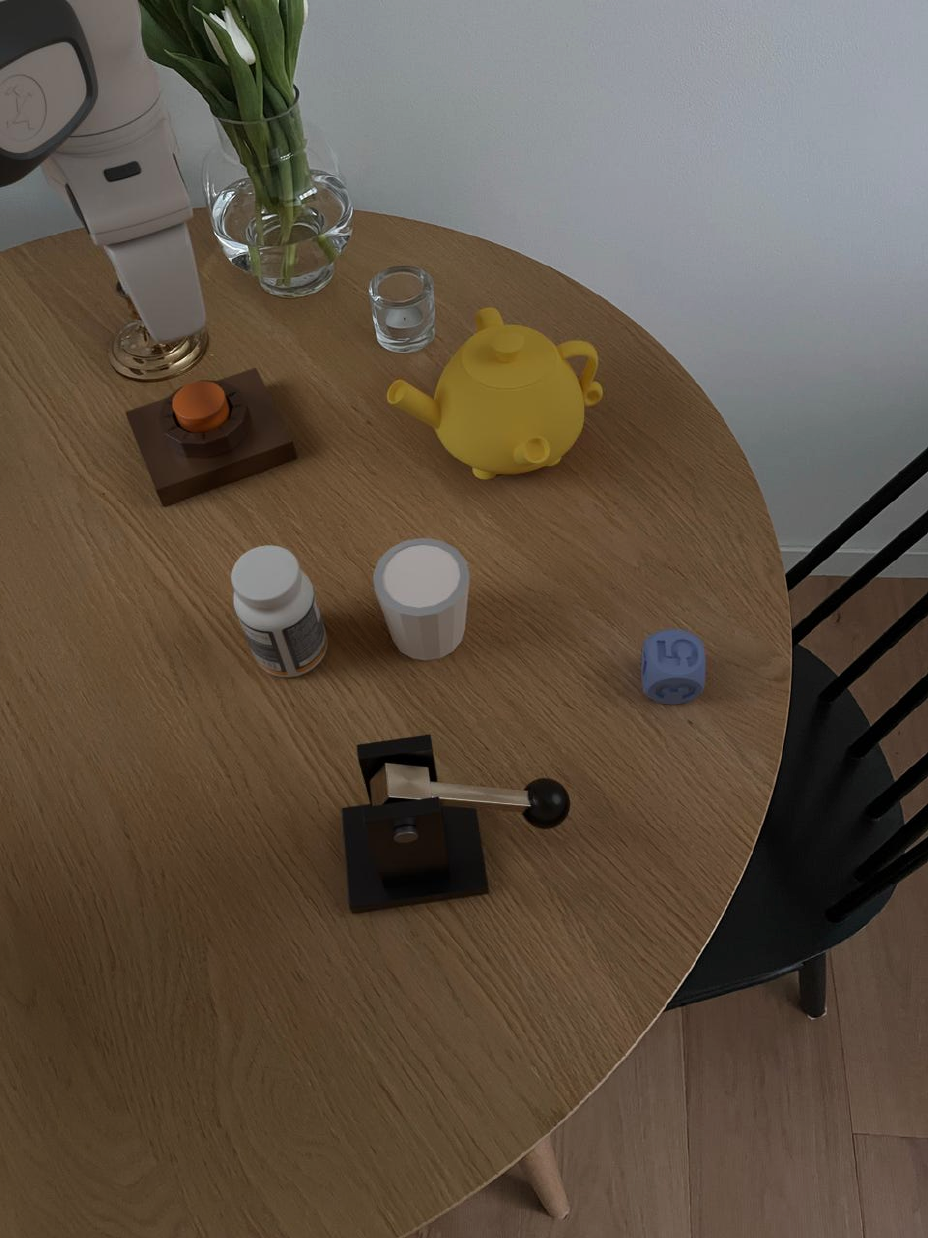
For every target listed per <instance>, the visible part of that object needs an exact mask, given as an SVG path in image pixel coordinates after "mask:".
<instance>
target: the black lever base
mask: <svg viewBox="0 0 928 1238" xmlns="http://www.w3.org/2000/svg"><path fill="white" fill-rule="evenodd" d="M432 740H433V739H432V734H430V733H429V734H422V735H414V736H409V737H402V738H394V739H393V738H392V739H386V740H380V741H373V742H372V741H371V742H365V743H359V744H356V754H357V761H358V765H359V768H360V772H361V776H362V778H363V782H364V785H365V786H364V787H365V790H366V793H367V797H368V801H369V803H368V804H366V803H365V804H360V805H353V806H347V807H342V808H341V818H342V819H341V820H342V831H343V832H342V833H343V847H344V858H345V859H344V860H345V870H346V883H347V884H346V885H347V895H348V896H347V897H348V908H349V911H350V913H351V914H352V915H355V914H356V915H357V914H362V913H368V912H376V911H382V910H383V911H384V910H388V909H394V908H395V909H396V908H402V907H409V906H415V905H423V904H429V903H437V902H442V901H450V900H456V899H464V898H469V897H476V896H483V895H489V892H490V890H489V881H488V875H487V869H486V864H485V856H484V850H483V844H482V843H483V842H482V837H481V831H480V829H481V828H480V824H479V823H480V822H479V817H478V809H473V808H461V807H449V806H440V799H439V797H431V798H424V799H417V800H410V801H403V802H396V803H389V804H382V805H375V806H372V798H371V788H370V780H371V779H372V778H373V777H374V775H375V774H376V773H377V772H378V771H379V770H380V769H381V767H382V766H383V765H384V764H385V763H393V764H402V765H412V766H422V767H428V769H429V777H430V782H439V781H438V774H437V768H436V767H437V766H436V760H435V754H434V747H433V741H432Z"/></svg>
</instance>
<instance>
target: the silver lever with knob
mask: <svg viewBox="0 0 928 1238" xmlns="http://www.w3.org/2000/svg"><path fill="white" fill-rule="evenodd" d="M370 788H371V798H372V806H375V805H382V804H389V803H396V802H403V801H410V800H417V799H424V798H431V797H439V799H440V806H449V807H461V808H473V809H476V810H486V811H497V812H498V811H499V812H510V813H520V814H521V815H522V817H523V819H524V820H525V821H526V822H527V823H528V824H529V825H530V826H532V827H534V828H536V829H539V830H551V829H554V828H558V827H559V826H560V825H561V824H563V823H564V822H565V820H566V819H567V818H568V816H569V813H570V810H571V797H570V795H569V792H568V790H567V788H566V787H564V785H563V784H562V783H561V782H559V781H558V780H556V779H552V778H549V777H540V778H536V779H534V780H532V781H530V782H529V783H528V784H527V785H525V786H524V788H523V789H513V788H502V787H492V786H481V785H472V784H460V783H450V782H441V781H438V782H430V777H429V769H428V767H422V766H412V765H402V764H393V763H385V764H384V765H383V766H382V767H381V769H380V770H379V771H378V772H377V773H376V774H375V775H374V777H373V778H372V779H371V780H370Z"/></svg>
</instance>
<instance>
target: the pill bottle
mask: <svg viewBox="0 0 928 1238" xmlns="http://www.w3.org/2000/svg"><path fill="white" fill-rule="evenodd" d="M230 580H231V585H232V588H233V590H234V591H233V597H232V599H233V603H232V604H233V608H234V611H235V614H236V616H237V619H238V621H239V623H240V625H241V628H242V631H243V633H244V635H245V638H246V641H247V643H248V645H249V648H250V650H251V653H252V655H253V657H254V660H255V661H256V663H257V665H258V666H259V667H260V668H261V669H263V671H265V672H267V673H268V674H270V675H272V676H275V677H281V678H294V677H295V678H296V677H300V676H302V675H304V674H306V673H308V672H310V671H312V670H313V669H315V668H316V667H317V666H318V665H319V664H320V662H321V661H322V660H323V658H324V657H325V655H326V653H327V649H328V642H329V640H328V635H327V631H326V626H325V624H324V620H323V617H322V613H321V610H320V606H319V604H318V600H317V596H316V593H315V590H314V585H313V583H312V582H311V580H310V578H309V576H307V574H306V573H305V572H304V571H302V569H301V567H300V564H299V561H298V558H296V556H295V555H294V553H292V552H291V551H290V550H288V549H287V548H285V547H282V546H278V545H273V544H271V545H267V544H266V545H260V546H257V547H254V548H251V549H249V550H248V551H246V552H244V553H243V554H242V555H241V556H240V557H238V559H237V560H236V561H235V563H234V565H233V567H232V569H231V574H230Z"/></svg>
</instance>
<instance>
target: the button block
mask: <svg viewBox="0 0 928 1238" xmlns="http://www.w3.org/2000/svg"><path fill="white" fill-rule="evenodd" d="M199 381H208V382H212V383H215V384H217V385H219V386H220V387H221V388H222V389H223V391H224V393H225V396H226V399H227V402H228V405H229V416H228V418H227V420H226V421H225V423H223V424H222V425H221V426H220V427H219V428H217V429H214V430H211V431H208V432H205V433H192V432H189V431H187V430H185V429H183V428H182V427H181V426H180V424H179V423H178V420H177V417H176V415H175V412H174V409H173V406H172V402H173V398H174V396H175V394H176V393H177V392H178V391H179V390H180V389H181V388H183V387H184V386H185V385H183V386H180V387H178V388H177V389H176V390H175V391H174V392H172V393H171V394H170V395H169V396H167V397H165V398H162V399H159V400H157V401H153V402H150V403H148V404H145V405H141V406H138V407H135V408H133V409H129V410H127V411H125V416H126V418H127V421H128V424H129V426H130V429H131V432H132V434H133V436H134V439H135V442H136V444H137V447H138V450H139V452H140V454H141V457H142V459H143V462H144V465H145V467H146V469H147V472H148V474H149V478H150V480H151V482H152V485H153V487H154V491H155V492H156V494H157V497H158V500H159V501H160V504H161V506H162V507H163V508H164V507H167V506H170V505H172V504H176V503H178V502H181V501H184V500H187V499H189V498H192V497H195V496H198V495H200V494H203V493H206V492H209V491H211V490H214V489H217V488H219V487H223V486H225V485H228V484H231V483H233V482H237V481H239V480H241V479H244V478H248V477H250V476H252V475H255V474H258V473H261V472H264V471H267V470H269V469H272V468H275V467H279V466H281V465H283V464H286V463H289V462H292V461H295V460H297V459H298V454H297V451H296V446H295V443H294V440H293V438H292V435H291V434H290V432H289V430H288V428H287V426H286V424H285V422H284V421H283V419H282V417H281V414H280V412H279V409H277V406H276V404H275V403H274V400H273V398H272V397H271V394H270V393H269V391H268V389H267V387H266V385H265V383H264V381H263V379H262V377H261V375H260V373H259V371H258V369H257V368H256V367H252V368H250V369H247V370H244V371H242V372H239V373H235V374H232V375H229V376H227V377H224V378H221V379H217V380H209V379H208V380H206V379H201V380H198V381H197V382H199Z"/></svg>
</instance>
